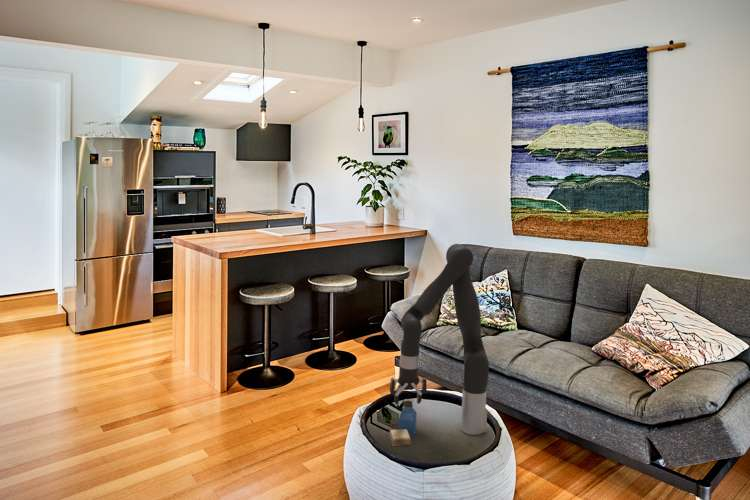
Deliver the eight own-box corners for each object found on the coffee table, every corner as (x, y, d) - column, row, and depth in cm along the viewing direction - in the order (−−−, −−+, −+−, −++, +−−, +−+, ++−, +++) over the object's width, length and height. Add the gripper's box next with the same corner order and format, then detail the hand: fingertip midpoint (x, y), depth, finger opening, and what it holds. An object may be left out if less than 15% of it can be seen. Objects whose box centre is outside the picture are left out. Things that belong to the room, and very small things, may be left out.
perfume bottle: (414, 435, 213) (415, 406, 210) (398, 433, 214) (399, 405, 212) (416, 427, 219) (417, 399, 216) (400, 425, 220) (401, 398, 218)
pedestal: (407, 435, 212) (407, 428, 212) (410, 445, 205) (411, 437, 205) (389, 436, 211) (389, 429, 211) (392, 446, 204) (392, 439, 204)
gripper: (425, 360, 216) (423, 398, 219) (389, 361, 214) (388, 399, 217) (429, 368, 209) (427, 407, 212) (392, 369, 207) (391, 408, 210)
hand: (407, 403), depth 214 cm, fingers open, 8 cm apart
